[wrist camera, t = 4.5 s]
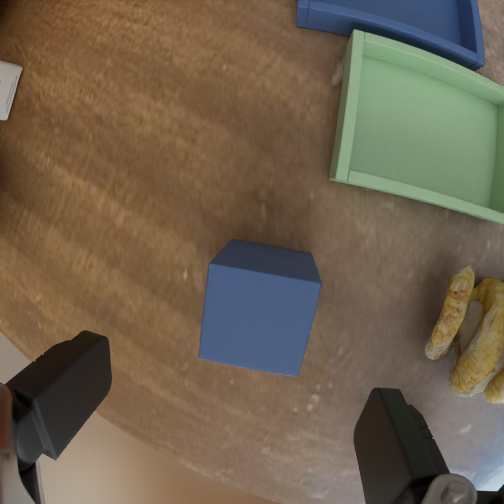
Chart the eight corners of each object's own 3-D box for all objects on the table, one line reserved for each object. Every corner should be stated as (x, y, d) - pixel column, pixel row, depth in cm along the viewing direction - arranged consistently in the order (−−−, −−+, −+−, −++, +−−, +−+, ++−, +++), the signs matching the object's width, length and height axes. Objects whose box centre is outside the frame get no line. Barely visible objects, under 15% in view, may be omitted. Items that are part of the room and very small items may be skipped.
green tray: (499, 103, 14) (520, 96, 11) (489, 221, 16) (511, 227, 13) (345, 47, 15) (353, 28, 12) (328, 179, 16) (335, 178, 14)
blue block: (311, 253, 17) (322, 282, 12) (295, 325, 18) (298, 377, 13) (232, 238, 18) (208, 262, 12) (221, 312, 19) (198, 358, 13)
